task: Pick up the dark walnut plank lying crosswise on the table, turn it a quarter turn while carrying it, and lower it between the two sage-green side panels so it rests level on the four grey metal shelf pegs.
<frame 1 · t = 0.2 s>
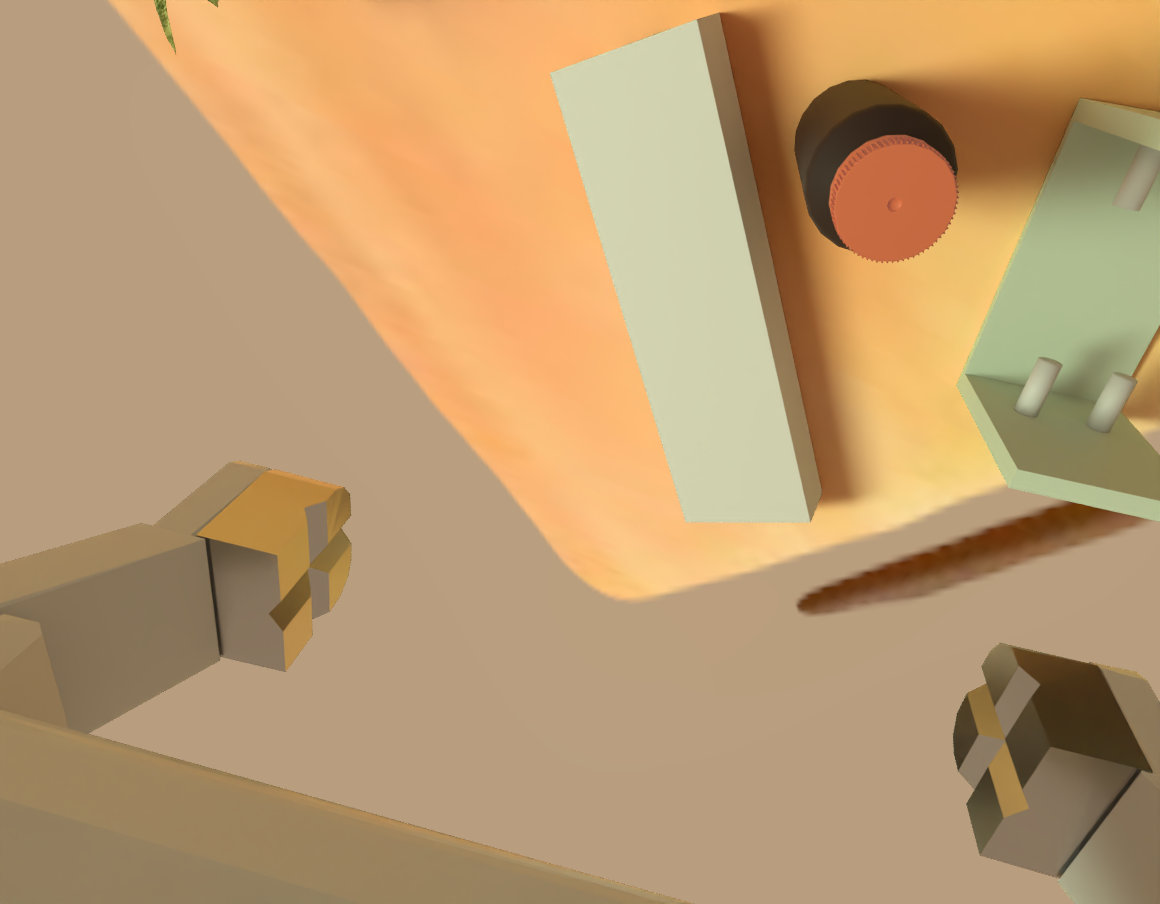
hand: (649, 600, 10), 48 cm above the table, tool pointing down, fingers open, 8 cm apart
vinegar: (849, 138, 50), on the table
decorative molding: (701, 296, 57), on the table
shelf frame: (1092, 270, 51), on the table
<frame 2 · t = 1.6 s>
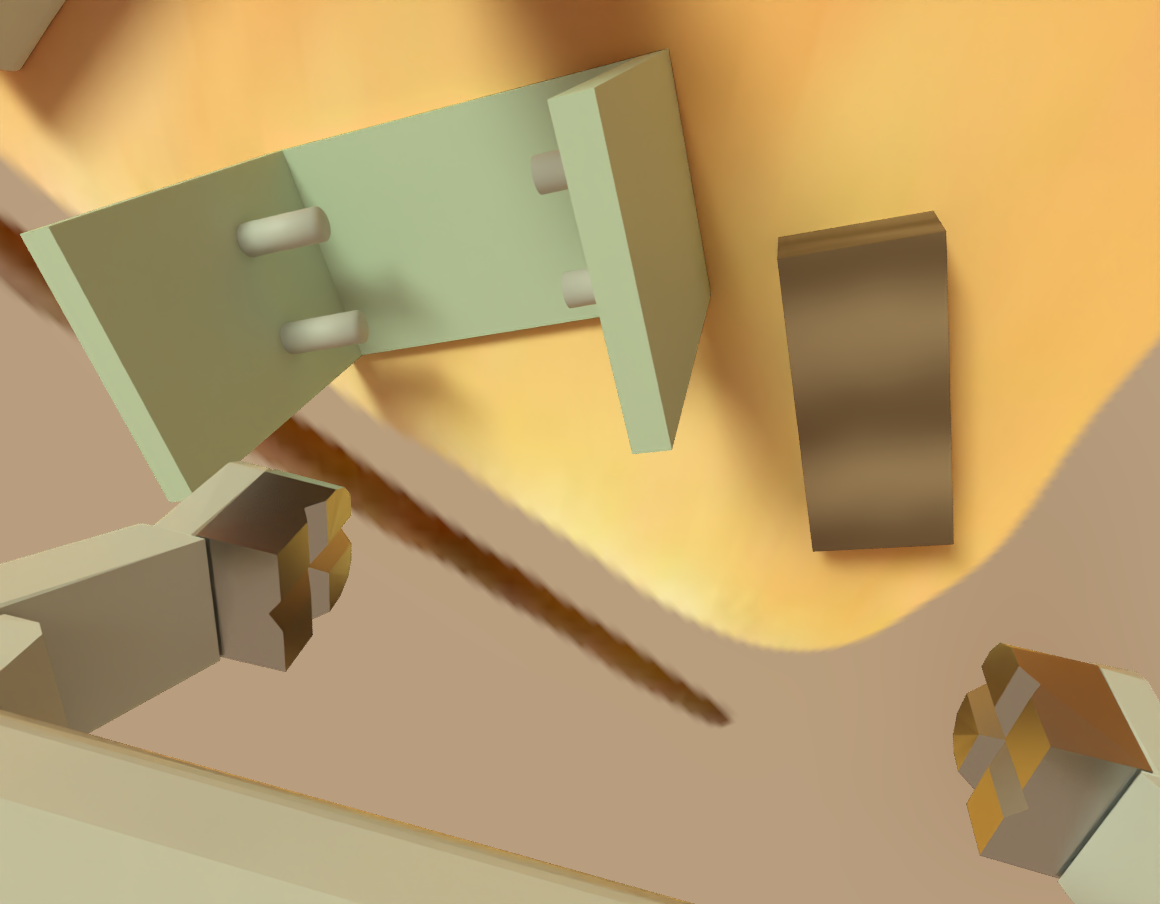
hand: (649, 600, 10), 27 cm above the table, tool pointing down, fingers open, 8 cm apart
plank: (864, 376, 36), on the table
shelf frame: (485, 222, 36), on the table
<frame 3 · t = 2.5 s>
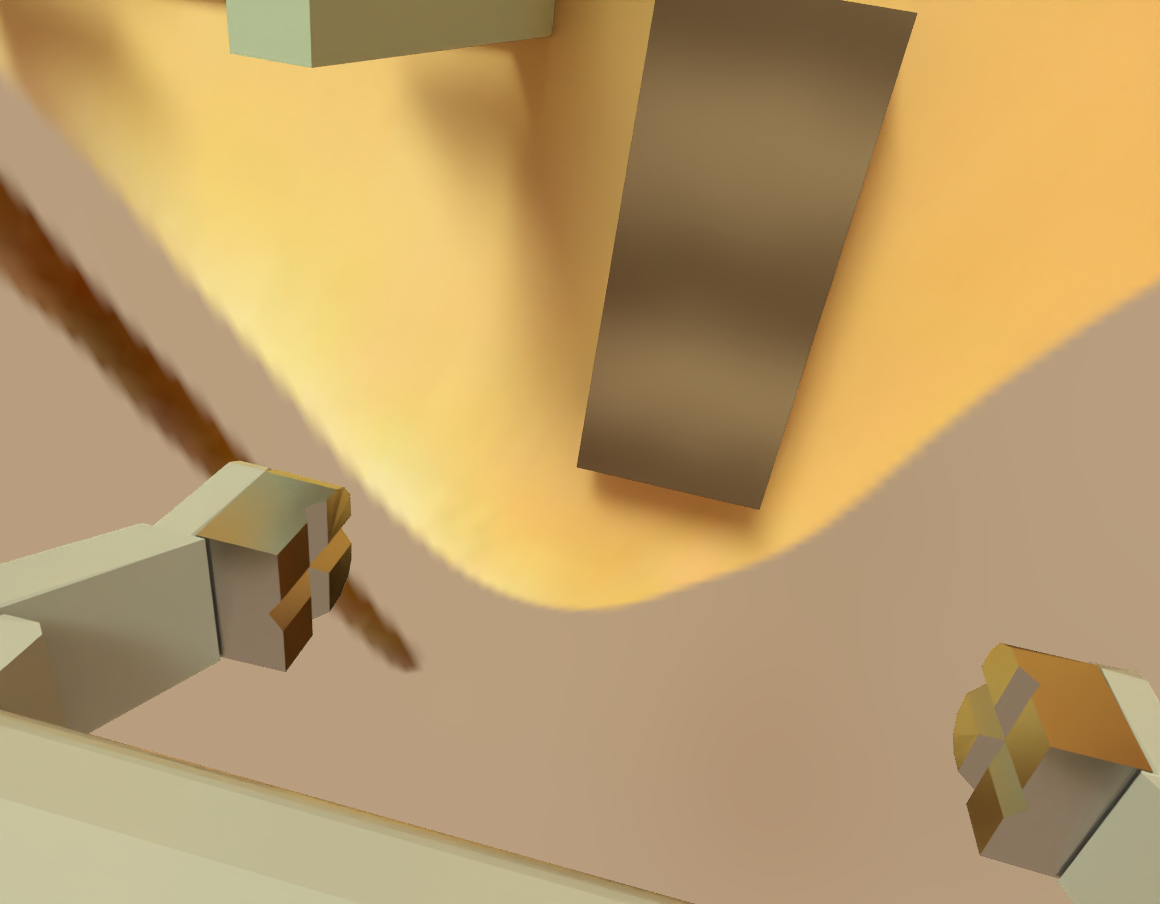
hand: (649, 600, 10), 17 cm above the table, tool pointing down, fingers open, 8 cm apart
plank: (723, 247, 25), on the table
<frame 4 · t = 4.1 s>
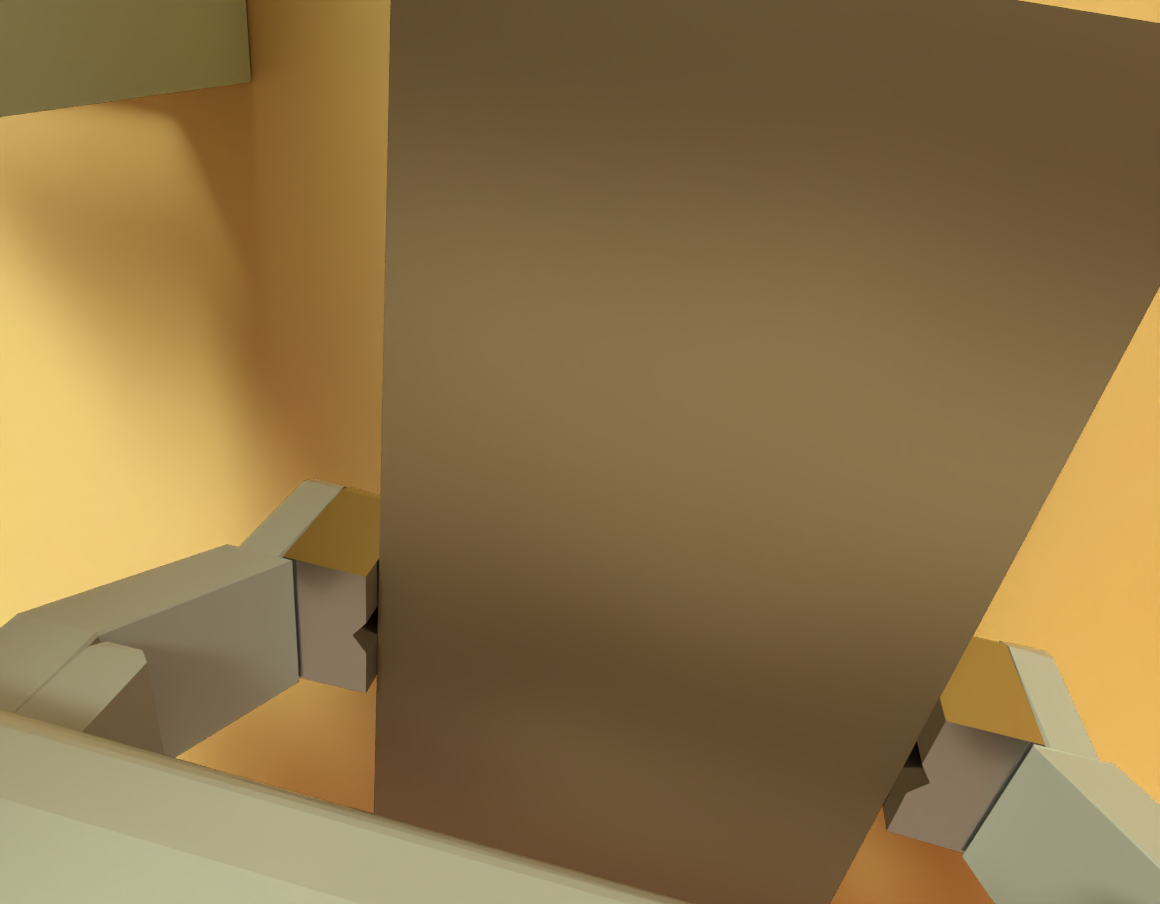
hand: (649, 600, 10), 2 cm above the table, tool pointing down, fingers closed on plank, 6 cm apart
plank: (664, 522, 12), on the table, touching gripper
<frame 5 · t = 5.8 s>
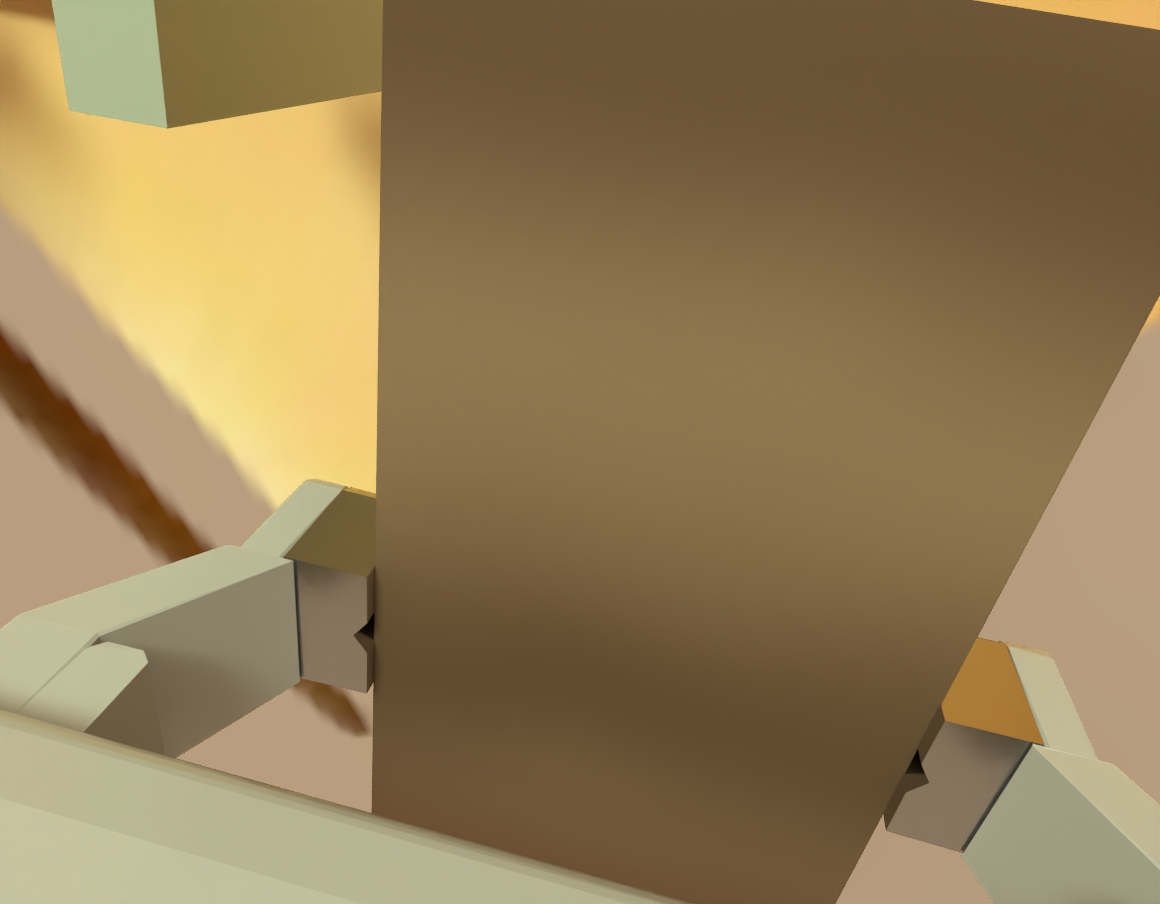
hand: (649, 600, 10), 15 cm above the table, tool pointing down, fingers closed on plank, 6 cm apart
plank: (663, 528, 12), point 13 cm above the table, touching gripper
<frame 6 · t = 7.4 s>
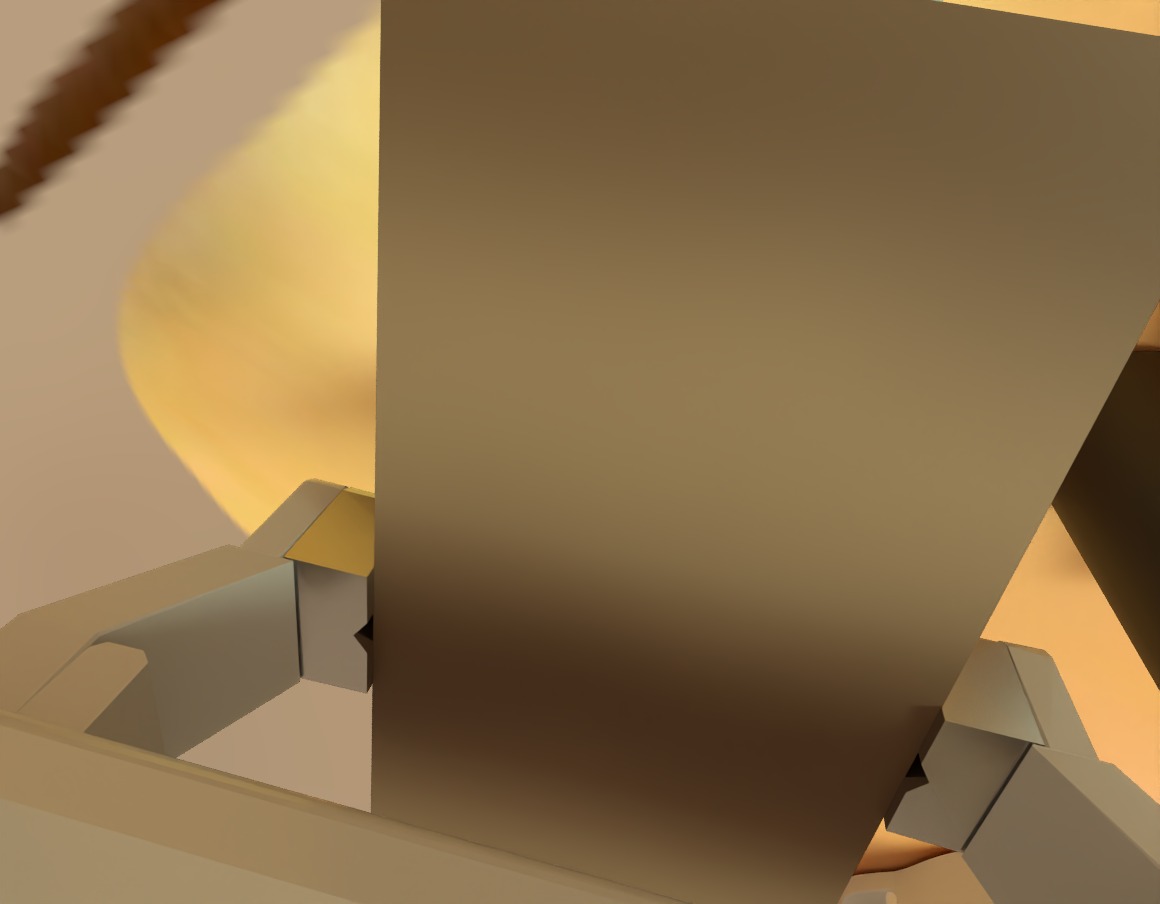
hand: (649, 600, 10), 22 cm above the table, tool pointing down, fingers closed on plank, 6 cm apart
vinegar: (1123, 428, 30), on the table, touching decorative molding
plank: (663, 531, 12), point 20 cm above the table, touching gripper
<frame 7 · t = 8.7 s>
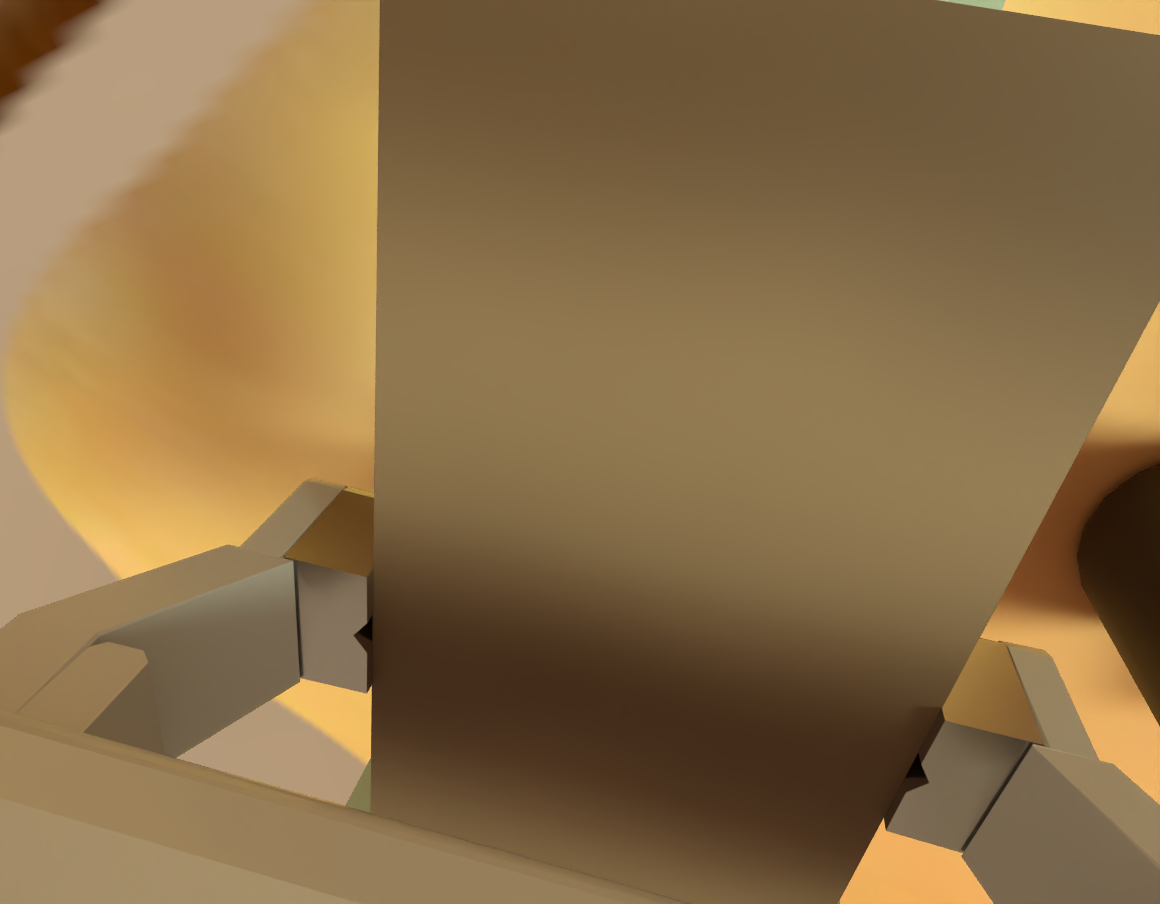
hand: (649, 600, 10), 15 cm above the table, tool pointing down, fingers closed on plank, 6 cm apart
plank: (663, 531, 12), point 13 cm above the table, touching gripper
shelf frame: (717, 272, 23), on the table
when the fingers open (8 cm above the table, at t = 10.9 s): plank stays where it is, resting on shelf frame.
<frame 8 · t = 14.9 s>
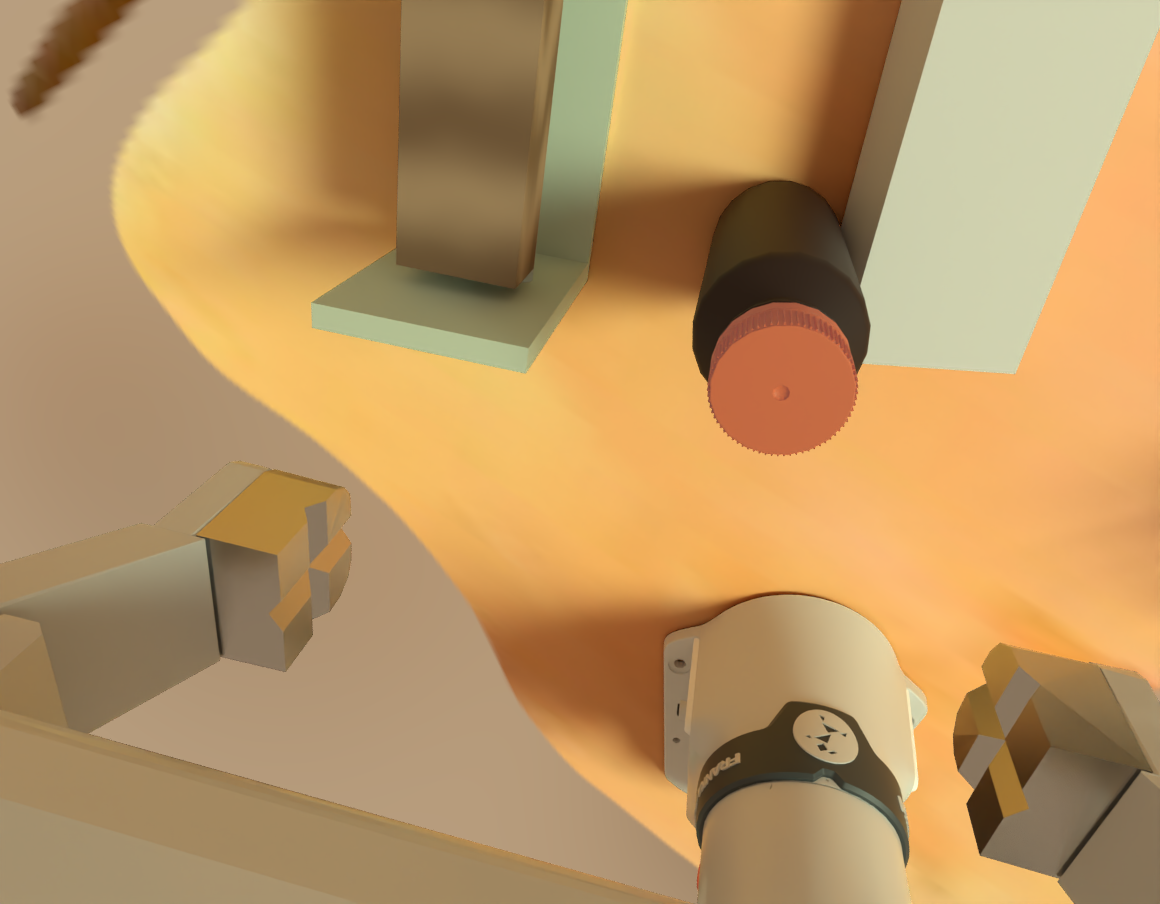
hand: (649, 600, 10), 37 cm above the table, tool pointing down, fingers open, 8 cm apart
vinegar: (775, 242, 44), on the table
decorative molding: (1019, 0, 37), on the table
plank: (488, 112, 38), point 6 cm above the table, touching shelf frame
shelf frame: (521, 93, 43), on the table
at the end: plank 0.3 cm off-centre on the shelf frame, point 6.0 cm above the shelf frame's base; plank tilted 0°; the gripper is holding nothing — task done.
